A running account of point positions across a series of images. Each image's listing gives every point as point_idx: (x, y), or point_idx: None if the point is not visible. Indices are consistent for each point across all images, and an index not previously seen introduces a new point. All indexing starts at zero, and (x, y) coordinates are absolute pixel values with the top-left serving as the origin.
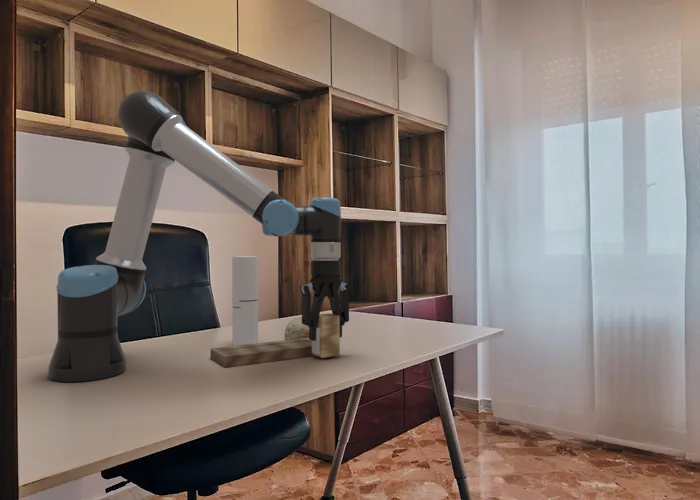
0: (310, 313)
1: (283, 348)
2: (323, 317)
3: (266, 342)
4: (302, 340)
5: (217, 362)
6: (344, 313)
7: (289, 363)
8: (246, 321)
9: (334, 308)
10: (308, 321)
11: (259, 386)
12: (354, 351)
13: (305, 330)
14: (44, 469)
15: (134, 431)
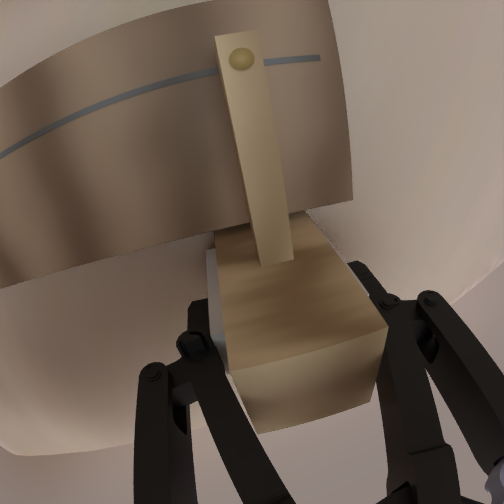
0: (190, 453)
1: (78, 242)
2: (265, 430)
3: (17, 79)
4: (210, 55)
5: None
6: (427, 364)
7: (113, 294)
8: None
9: (385, 414)
10: (176, 413)
11: (75, 410)
12: (399, 186)
13: (223, 85)
14: (11, 451)
15: (18, 440)
